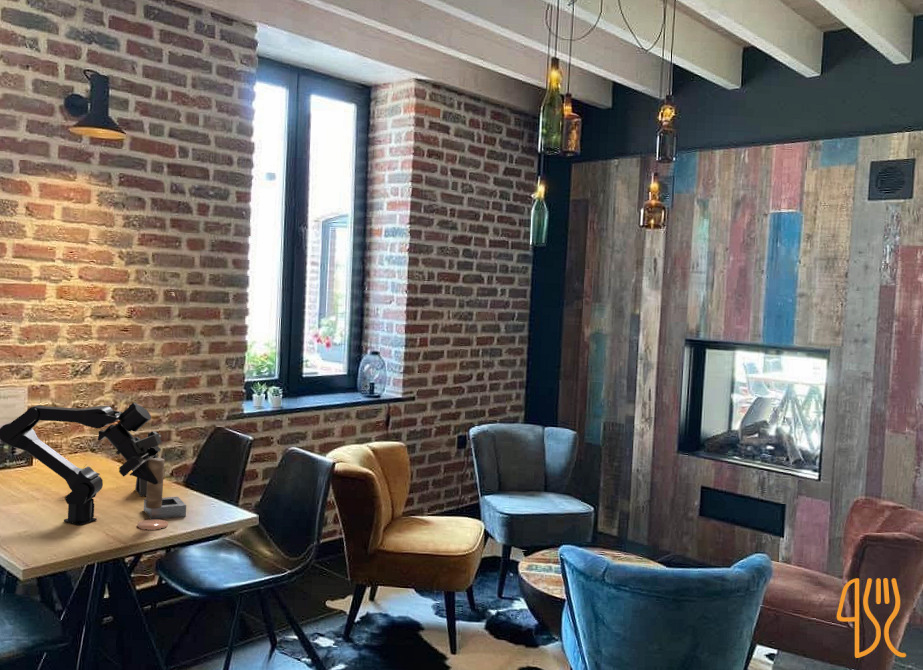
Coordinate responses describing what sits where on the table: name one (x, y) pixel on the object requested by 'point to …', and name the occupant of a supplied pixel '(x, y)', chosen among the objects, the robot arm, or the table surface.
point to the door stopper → (141, 486)
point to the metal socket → (167, 508)
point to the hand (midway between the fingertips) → (159, 481)
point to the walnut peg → (156, 490)
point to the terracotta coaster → (152, 524)
